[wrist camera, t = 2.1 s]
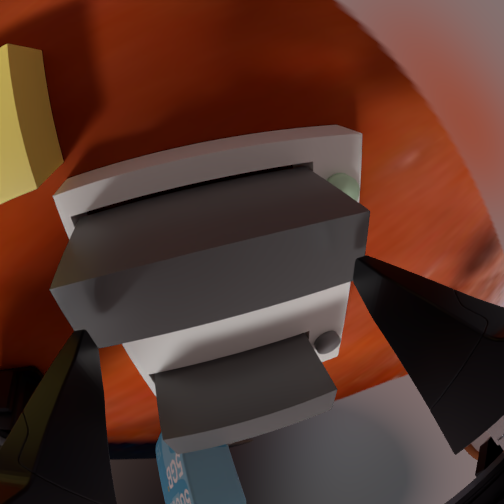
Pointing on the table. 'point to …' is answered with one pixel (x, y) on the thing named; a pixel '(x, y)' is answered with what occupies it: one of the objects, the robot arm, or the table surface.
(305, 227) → the block
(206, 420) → the block
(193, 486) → the data package
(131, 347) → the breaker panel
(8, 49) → the pale yellow pad
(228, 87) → the table surface
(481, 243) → the table surface
